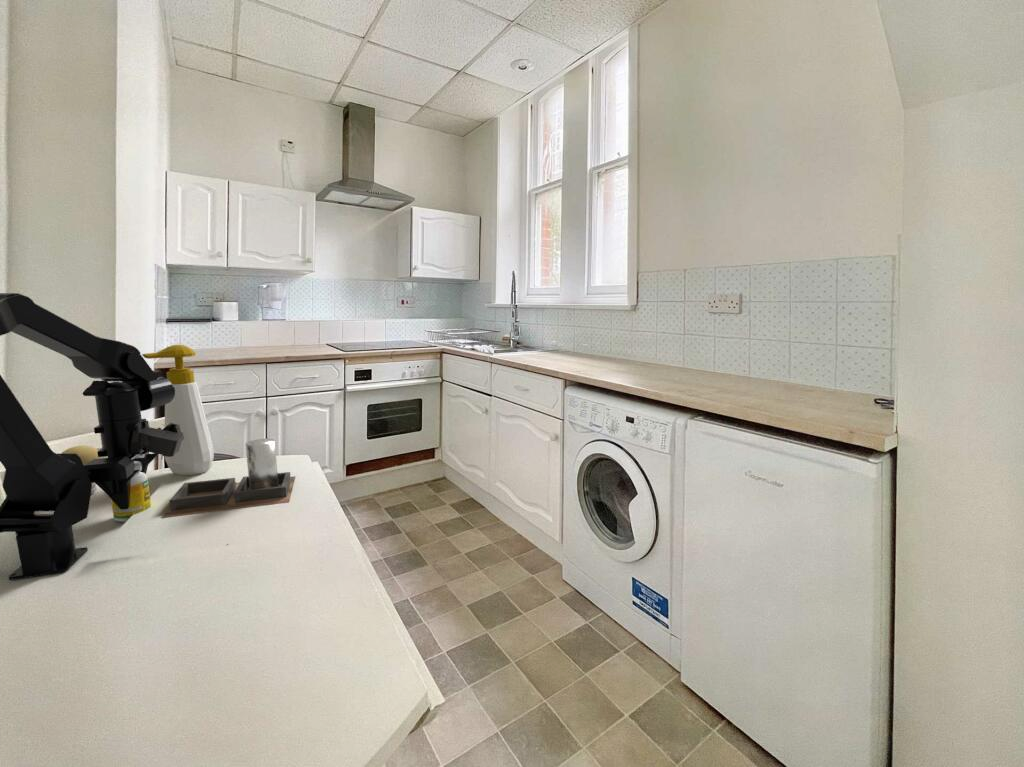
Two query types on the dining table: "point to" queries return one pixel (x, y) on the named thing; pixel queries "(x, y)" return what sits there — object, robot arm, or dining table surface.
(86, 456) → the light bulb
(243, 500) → the brown divided tray
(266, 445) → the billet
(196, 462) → the soap bottle
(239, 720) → the dining table surface
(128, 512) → the supplement bottle
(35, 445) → the robot arm
